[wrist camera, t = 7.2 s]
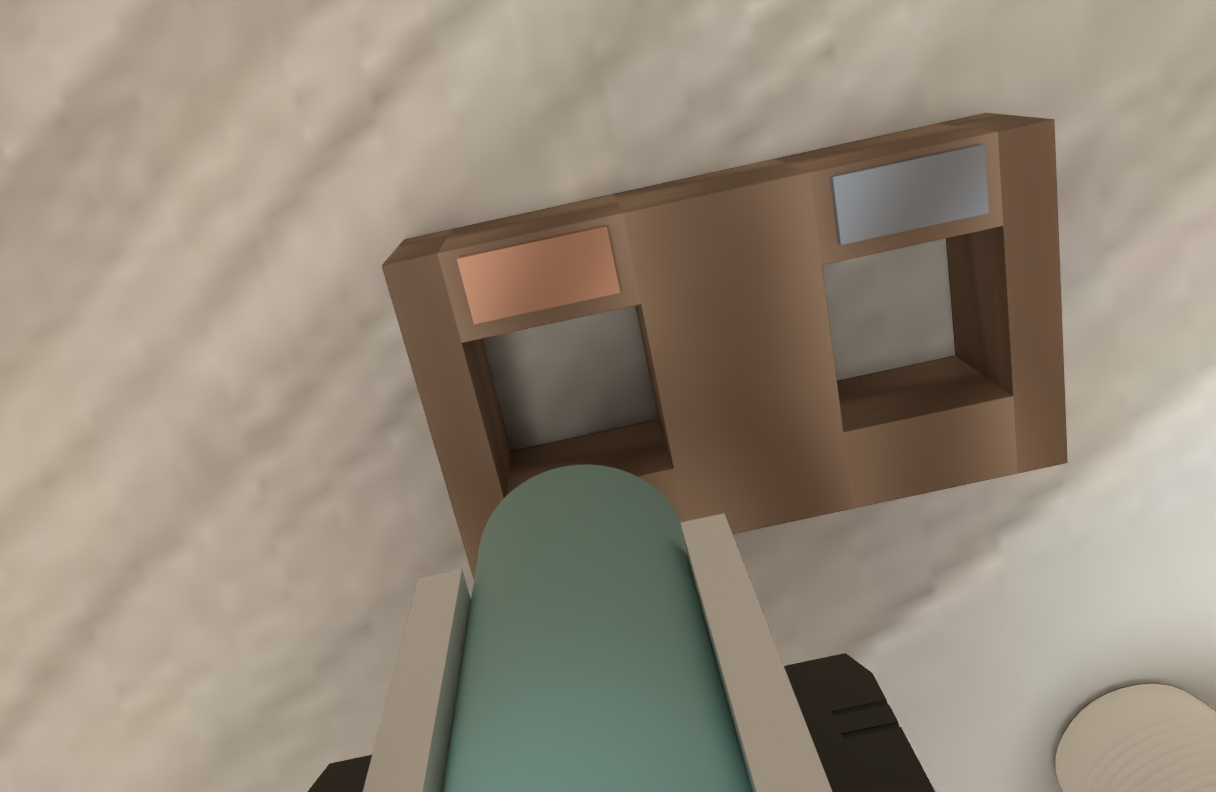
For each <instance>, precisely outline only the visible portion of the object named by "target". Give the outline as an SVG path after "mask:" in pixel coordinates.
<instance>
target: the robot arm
mask: <svg viewBox="0 0 1216 792" xmlns="http://www.w3.org/2000/svg"><path fill="white" fill-rule="evenodd" d="M681 528H682V533H683V538H684V543H685V548H686V553H687V557H688V561H689V564H690V568H691V572H692V575H693V579H694V582H695V586H696V590H697V593H698V597H699V600H700V604H701V608H702V611H703V615H704V618H705V622H706V626H707V629H708V633H709V636H710V640H711V644H712V647H713V651H714V654H715V658H716V662H717V665H718V669H719V672H720V676H721V680H722V683H723V687H724V690H725V694H726V698H727V701H728V705H729V708H730V712H731V716H732V719H733V723H734V726H735V730H736V734H737V737H738V741H739V744H740V748H741V752H742V755H743V759H744V762H745V766H746V770H747V773H748V777H749V780H750V784H751V788H752V791H753V792H935V791H934V789H933V787H932V785H931V783H930V781H929V779H928V777H927V776H926V774H925V772H924V770H923V768H922V766H921V764H920V762H919V760H918V759H917V757H916V755H915V753H914V751H913V749H912V747H911V745H910V743H909V742H908V740H907V738H906V736H905V734H904V732H903V730H902V728H901V727H899V724H898V721H897V719H896V717H895V715H894V713H893V711H892V709H891V708H890V706H889V705H888V704H887V701H886V698H885V696H884V694H883V692H882V691H881V689H880V687H879V685H878V683H877V681H876V679H875V677H874V675H873V674H872V673H871V672H870V671H869V670H867V669H866V668H865V667H863V666H862V665H861V664H859V663H858V662H857V661H855V660H854V659H853V658H851V657H850V656H849V655H847V654H846V653H844V654H839V655H835V656H830V657H825V658H820V659H815V660H811V661H806V662H801V663H796V664H792V665H787V666H783V663H782V661H781V658H780V655H779V653H778V650H777V648H776V645H775V643H774V640H773V637H772V635H771V632H770V630H769V627H768V624H767V622H766V619H765V617H764V614H763V612H762V609H761V606H760V604H759V601H758V599H757V596H756V594H755V591H754V588H753V586H752V583H751V581H750V578H749V575H748V573H747V570H746V568H745V565H744V563H743V560H742V557H741V555H740V552H739V550H738V547H737V545H736V542H735V539H734V537H733V534H732V532H731V529H730V526H729V524H728V521H727V519H726V516H725V514H724V513H723V514H719V515H714V516H709V517H704V518H700V519H695V520H690V521H685V522H681ZM470 605H471V598H470V594H469V591H468V588H467V584H466V581H465V578H464V574H463V571H462V569H459V570H454V571H450V572H445V573H440V574H435V575H431V576H426V577H421V578H418V581H417V585H416V589H415V593H414V596H413V600H412V604H411V608H410V612H409V616H408V619H407V623H406V627H405V631H404V635H403V639H402V643H401V646H400V650H399V654H398V658H397V662H396V666H395V669H394V673H393V677H392V681H391V685H390V689H389V693H388V696H387V700H386V704H385V708H384V712H383V716H382V720H381V723H380V727H379V731H378V735H377V739H376V743H375V746H374V750H373V754H372V755H369V756H364V757H359V758H354V759H350V760H345V761H340V762H335V763H331V764H329V765H328V766H327V768H326V769H325V770H324V771H323V773H322V774H321V775H320V777H319V778H318V779H317V780H316V782H315V783H314V784H313V785H312V787H311V788H310V789H309V791H308V792H442V791H443V784H444V777H445V771H446V764H447V758H448V751H449V744H450V738H451V731H452V724H453V718H454V711H455V704H456V698H457V691H458V684H459V678H460V671H461V665H462V658H463V651H464V645H465V638H466V631H467V625H468V618H469V611H470Z"/></svg>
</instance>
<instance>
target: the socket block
mask: <svg viewBox="0 0 1216 792" xmlns="http://www.w3.org/2000/svg"><path fill="white" fill-rule="evenodd" d="M944 238H946V240H947V253H948V265H949V278H950V290H951V303H952V315H953V327H954V340H955V352H956V356H953V357H948V358H944V359H939V360H934V361H930V362H925V363H920V364H916V365H911V366H906V367H902V368H897V369H892V370H888V371H883V372H878V373H874V374H869V375H864V376H860V377H855V378H850V379H846V380H841V381H837V379H836V371H835V364H834V356H833V348H832V340H831V332H830V324H829V317H828V309H827V301H826V293H825V285H824V278H823V270H822V265H824V264H829V263H833V262H838V261H843V260H847V259H852V258H856V257H861V256H866V255H870V254H875V253H880V252H884V251H889V250H893V249H898V248H903V247H907V246H912V245H917V244H921V243H926V242H930V241H935V240H940V239H944ZM382 268H383V272H384V275H385V279H386V282H387V285H388V289H389V292H390V296H391V299H392V302H393V306H394V309H395V313H396V316H397V319H398V323H399V326H400V330H401V333H402V337H403V340H404V343H405V347H406V350H407V354H408V357H409V360H410V364H411V367H412V371H413V374H414V377H415V381H416V384H417V388H418V391H419V394H420V398H421V401H422V405H423V408H424V411H425V415H426V418H427V422H428V425H429V428H430V432H431V435H432V439H433V442H434V445H435V449H436V452H437V456H438V459H439V463H440V466H441V469H442V473H443V476H444V480H445V483H446V486H447V490H448V493H449V497H450V500H451V503H452V507H453V510H454V514H455V517H456V520H457V524H458V527H459V531H460V534H461V537H462V541H463V544H464V548H465V551H466V554H467V558H468V561H469V565H470V568H471V571H472V575H473V578H475V571H476V565H477V558H478V552H479V545H480V541H481V537H482V533H483V531H484V528H485V526H486V523H487V521H488V520H489V518H490V516H491V515H492V513H493V511H494V510H495V509H496V507H497V506H498V505H499V503H500V502H501V501H502V500H503V499H504V498H505V497H506V496H507V495H508V494H509V493H510V492H511V491H512V490H514V489H515V488H516V487H518V486H519V485H520V484H522V483H523V482H525V481H527V480H529V479H530V478H532V477H534V476H536V475H539V474H541V473H543V472H546V471H549V470H552V469H556V468H560V467H565V466H571V465H600V466H607V467H612V468H616V469H620V470H622V471H625V472H628V473H631V474H633V475H635V476H637V477H639V478H641V479H643V480H644V481H646V482H647V483H649V484H650V485H652V486H653V487H655V488H656V489H657V490H658V491H659V492H660V493H661V494H662V495H664V497H665V498H666V499H667V500H668V501H669V502H670V504H671V505H672V506H673V508H674V509H675V511H676V513H677V514H678V516H679V518H680V520H681V522H685V521H690V520H695V519H700V518H704V517H709V516H714V515H719V514H723V513H724V514H725V516H726V519H727V521H728V524H729V526H730V529H731V532H732V534H735V533H740V532H745V531H750V530H754V529H759V528H764V527H768V526H773V525H778V524H782V523H787V522H792V521H797V520H801V519H806V518H811V517H815V516H820V515H825V514H829V513H834V512H839V511H844V510H848V509H853V508H858V507H862V506H867V505H872V504H876V503H881V502H886V501H890V500H895V499H900V498H905V497H909V496H914V495H919V494H923V493H928V492H933V491H937V490H942V489H947V488H952V487H956V486H961V485H966V484H970V483H975V482H980V481H984V480H989V479H994V478H999V477H1003V476H1008V475H1013V474H1017V473H1022V472H1027V471H1031V470H1036V469H1041V468H1045V467H1050V466H1055V465H1060V464H1064V463H1067V437H1066V411H1065V385H1064V359H1063V333H1062V307H1061V282H1060V256H1059V230H1058V204H1057V178H1056V152H1055V126H1054V119H1044V118H1033V117H1023V116H1012V115H1001V114H991V113H984V114H979V115H975V116H970V117H965V118H961V119H956V120H952V121H947V122H942V123H938V124H933V125H929V126H924V127H919V128H915V129H910V130H906V131H901V132H896V133H892V134H887V135H883V136H878V137H873V138H869V139H864V140H860V141H855V142H850V143H846V144H841V145H837V146H832V147H827V148H823V149H818V150H814V151H809V152H805V153H800V154H795V155H791V156H786V157H782V158H777V159H772V160H768V161H763V162H759V163H754V164H749V165H745V166H740V167H736V168H731V169H726V170H722V171H717V172H713V173H708V174H703V175H699V176H694V177H690V178H685V179H680V180H676V181H671V182H667V183H662V184H657V185H653V186H648V187H644V188H639V189H634V190H630V191H625V192H621V193H616V194H611V195H607V196H602V197H598V198H593V199H588V200H584V201H579V202H575V203H570V204H565V205H561V206H556V207H552V208H547V209H542V210H538V211H533V212H529V213H524V214H520V215H515V216H510V217H506V218H501V219H497V220H492V221H487V222H483V223H478V224H474V225H469V226H464V227H460V228H455V229H451V230H446V231H441V232H437V233H432V234H428V235H423V236H418V237H414V238H409V239H405V240H403V242H402V243H401V244H400V245H399V246H398V247H397V248H396V250H395V251H394V252H393V253H392V254H391V255H390V257H389V258H388V259H387V260H386V261H385V262H384V263H383V265H382ZM634 305H636V310H637V315H638V320H639V325H640V330H641V335H642V340H643V344H644V349H645V354H646V359H647V364H648V369H649V374H650V379H651V384H652V389H653V394H654V399H655V404H656V409H657V414H658V419H659V420H655V421H650V422H645V423H641V424H636V425H631V426H627V427H622V428H617V429H613V430H608V431H603V432H599V433H594V434H589V435H585V436H580V437H575V438H571V439H566V440H561V441H557V442H552V443H547V444H543V445H538V446H533V447H529V448H524V449H519V450H515V451H511V450H510V446H509V442H508V439H507V435H506V431H505V427H504V423H503V420H502V416H501V412H500V408H499V404H498V401H497V397H496V393H495V389H494V385H493V382H492V378H491V374H490V370H489V366H488V363H487V359H486V355H485V351H484V347H483V344H482V340H481V339H482V338H486V337H491V336H495V335H500V334H505V333H509V332H514V331H519V330H523V329H528V328H532V327H537V326H542V325H546V324H551V323H556V322H560V321H565V320H569V319H574V318H579V317H583V316H588V315H593V314H597V313H602V312H607V311H611V310H616V309H620V308H625V307H630V306H634Z"/></svg>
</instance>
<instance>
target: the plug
mask: <svg viewBox="0 0 1216 792" xmlns="http://www.w3.org/2000/svg"><path fill="white" fill-rule="evenodd" d="M442 792H753V791H752V788H751V784H750V780H749V777H748V773H747V770H746V766H745V762H744V759H743V755H742V752H741V748H740V744H739V741H738V737H737V734H736V730H735V726H734V723H733V719H732V716H731V712H730V708H729V705H728V701H727V698H726V694H725V690H724V687H723V683H722V680H721V676H720V672H719V669H718V665H717V662H716V658H715V654H714V651H713V647H712V644H711V640H710V636H709V633H708V629H707V626H706V622H705V618H704V615H703V611H702V608H701V604H700V600H699V597H698V593H697V590H696V586H695V582H694V579H693V575H692V572H691V568H690V564H689V561H688V557H687V553H686V548H685V543H684V538H683V533H682V528H681V520H680V518H679V516H678V514H677V513H676V511H675V509H674V508H673V506H672V505H671V504H670V502H669V501H668V500H667V499H666V498H665V497H664V495H662V494H661V493H660V492H659V491H658V490H657V489H656V488H655V487H653V486H652V485H650V484H649V483H647V482H646V481H644V480H643V479H641V478H639V477H637V476H635V475H633V474H631V473H628V472H625V471H622V470H620V469H616V468H612V467H607V466H600V465H571V466H565V467H560V468H556V469H552V470H549V471H546V472H543V473H541V474H539V475H536V476H534V477H532V478H530V479H529V480H527V481H525V482H523V483H522V484H520V485H519V486H518V487H516V488H515V489H514V490H512V491H511V492H510V493H509V494H508V495H507V496H506V497H505V498H504V499H503V500H502V501H501V502H500V503H499V505H498V506H497V507H496V509H495V510H494V511H493V513H492V515H491V516H490V518H489V520H488V521H487V523H486V526H485V528H484V531H483V533H482V537H481V541H480V545H479V552H478V558H477V565H476V571H475V578H474V585H473V591H472V598H471V605H470V611H469V618H468V625H467V631H466V638H465V645H464V651H463V658H462V665H461V671H460V678H459V684H458V691H457V698H456V704H455V711H454V718H453V724H452V731H451V738H450V744H449V751H448V758H447V764H446V771H445V777H444V784H443V791H442Z"/></svg>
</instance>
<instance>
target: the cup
mask: <svg viewBox="0 0 1216 792" xmlns="http://www.w3.org/2000/svg"><path fill="white" fill-rule="evenodd" d="M1055 765H1056V775H1057V778H1058V781H1059V784H1060V787H1061V789H1062V791H1063V792H1216V711H1214V710H1213V709H1211V708H1210V707H1208V706H1207V705H1205V704H1204V703H1203V702H1201V701H1200V700H1198V699H1197V698H1195V697H1194V696H1192V695H1190V694H1189V693H1187V692H1185V691H1184V690H1181V689H1178V688H1175V687H1172V686H1169V685H1160V684H1142V685H1135V686H1130V687H1125V688H1121V689H1117V690H1115V691H1112V692H1110V693H1107V694H1105V695H1103V696H1101V697H1099V698H1098V699H1096V700H1094V701H1092V702H1091V703H1090V704H1089V705H1087V706H1086V707H1085V708H1084V709H1082V710H1081V711H1080V712H1079V713H1078V715H1077V716H1076V717H1075V718H1074V719H1073V720H1072V721H1071V723H1070V724H1069V726H1068V728H1067V729H1066V731H1065V733H1064V734H1063V736H1062V738H1061V741H1060V743H1059V746H1058V748H1057V754H1056V760H1055Z"/></svg>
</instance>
